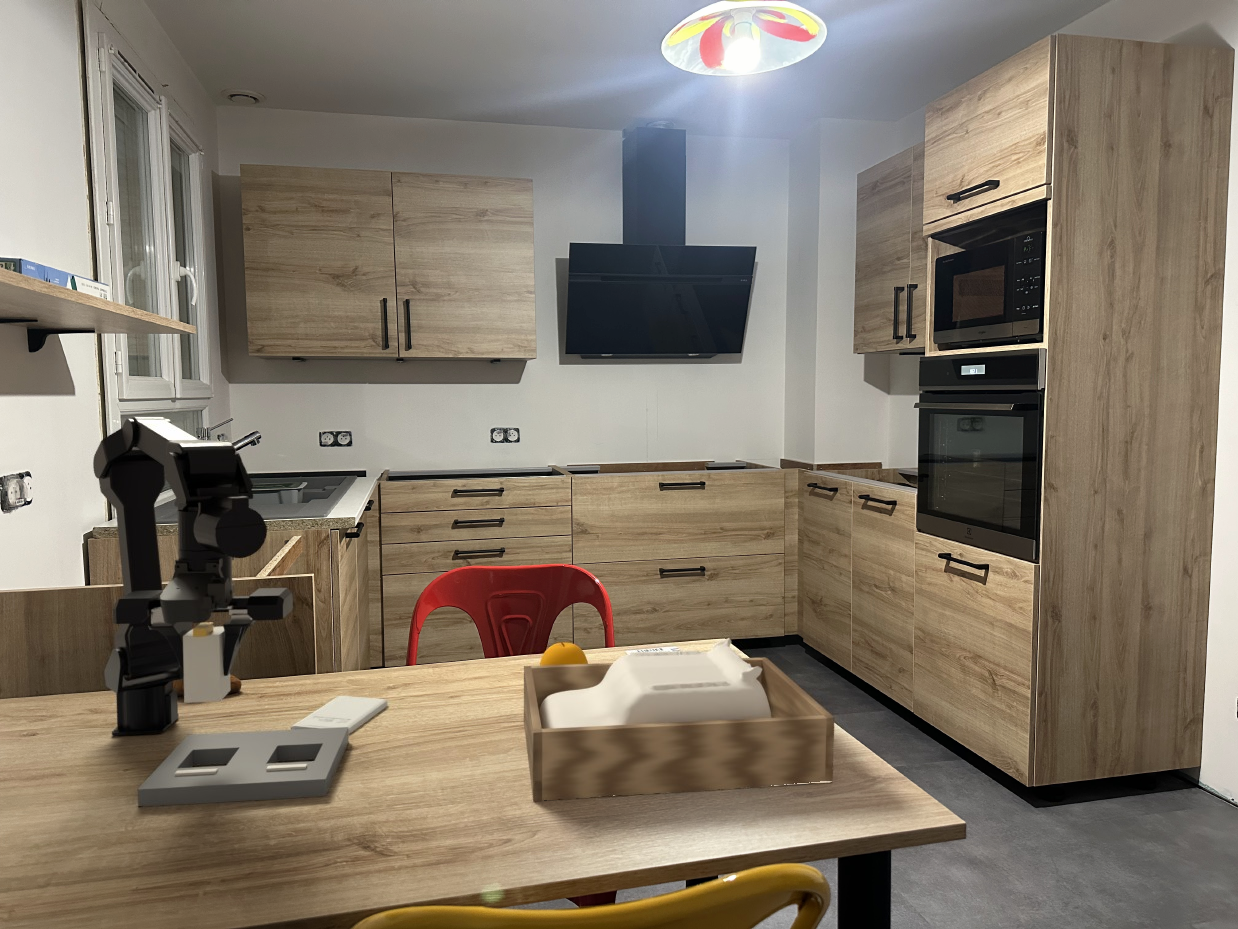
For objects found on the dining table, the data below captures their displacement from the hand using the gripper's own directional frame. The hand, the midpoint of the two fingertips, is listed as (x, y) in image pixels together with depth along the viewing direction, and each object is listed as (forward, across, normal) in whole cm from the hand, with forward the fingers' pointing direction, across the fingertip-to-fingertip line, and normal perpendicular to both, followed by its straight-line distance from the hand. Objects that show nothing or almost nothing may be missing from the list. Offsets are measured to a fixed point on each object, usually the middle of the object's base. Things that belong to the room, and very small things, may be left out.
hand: (207, 675), depth 101 cm
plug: (+2, 0, 0) cm, 3 cm away
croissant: (+13, -11, +31) cm, 36 cm away
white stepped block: (+12, +54, -1) cm, 56 cm away
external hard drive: (+13, +13, +17) cm, 25 cm away
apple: (+12, +46, +26) cm, 54 cm away
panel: (+12, +5, 0) cm, 13 cm away
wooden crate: (+12, +56, 0) cm, 58 cm away
